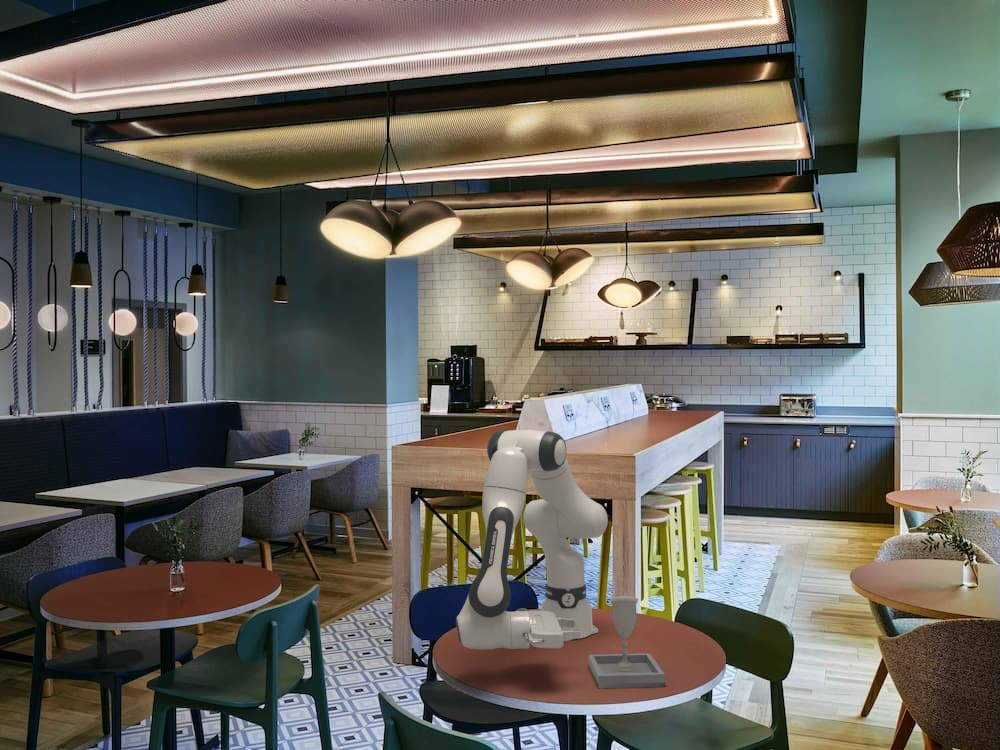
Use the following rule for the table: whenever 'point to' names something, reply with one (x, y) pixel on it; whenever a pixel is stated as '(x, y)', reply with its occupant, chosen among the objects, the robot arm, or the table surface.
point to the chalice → (624, 626)
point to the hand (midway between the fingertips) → (577, 628)
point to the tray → (643, 676)
